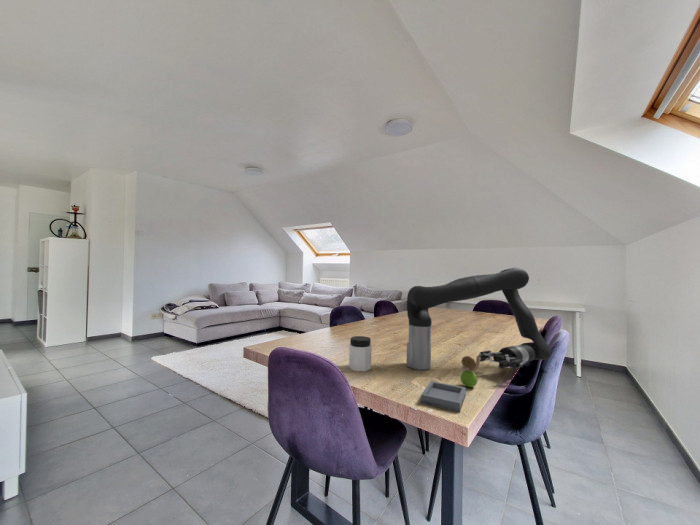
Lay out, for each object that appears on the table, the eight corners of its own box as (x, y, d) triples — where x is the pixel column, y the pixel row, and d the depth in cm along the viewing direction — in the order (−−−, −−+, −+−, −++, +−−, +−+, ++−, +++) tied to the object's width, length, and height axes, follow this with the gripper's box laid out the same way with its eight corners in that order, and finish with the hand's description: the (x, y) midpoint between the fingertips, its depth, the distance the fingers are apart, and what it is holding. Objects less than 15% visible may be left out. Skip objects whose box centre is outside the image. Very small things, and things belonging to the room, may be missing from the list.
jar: (346, 365, 121) (346, 336, 122) (364, 363, 125) (364, 335, 125) (355, 373, 113) (355, 341, 113) (374, 370, 116) (374, 340, 117)
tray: (420, 403, 89) (421, 394, 89) (430, 388, 100) (431, 380, 100) (459, 412, 83) (459, 403, 83) (465, 395, 95) (465, 387, 95)
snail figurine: (479, 391, 98) (479, 355, 98) (458, 387, 102) (459, 352, 102) (481, 386, 103) (482, 351, 103) (462, 382, 106) (462, 348, 106)
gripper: (496, 342, 123) (471, 347, 114) (532, 350, 110) (508, 356, 102) (496, 360, 122) (471, 366, 114) (532, 371, 110) (507, 378, 102)
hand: (488, 361), depth 108 cm, fingers open, 8 cm apart
